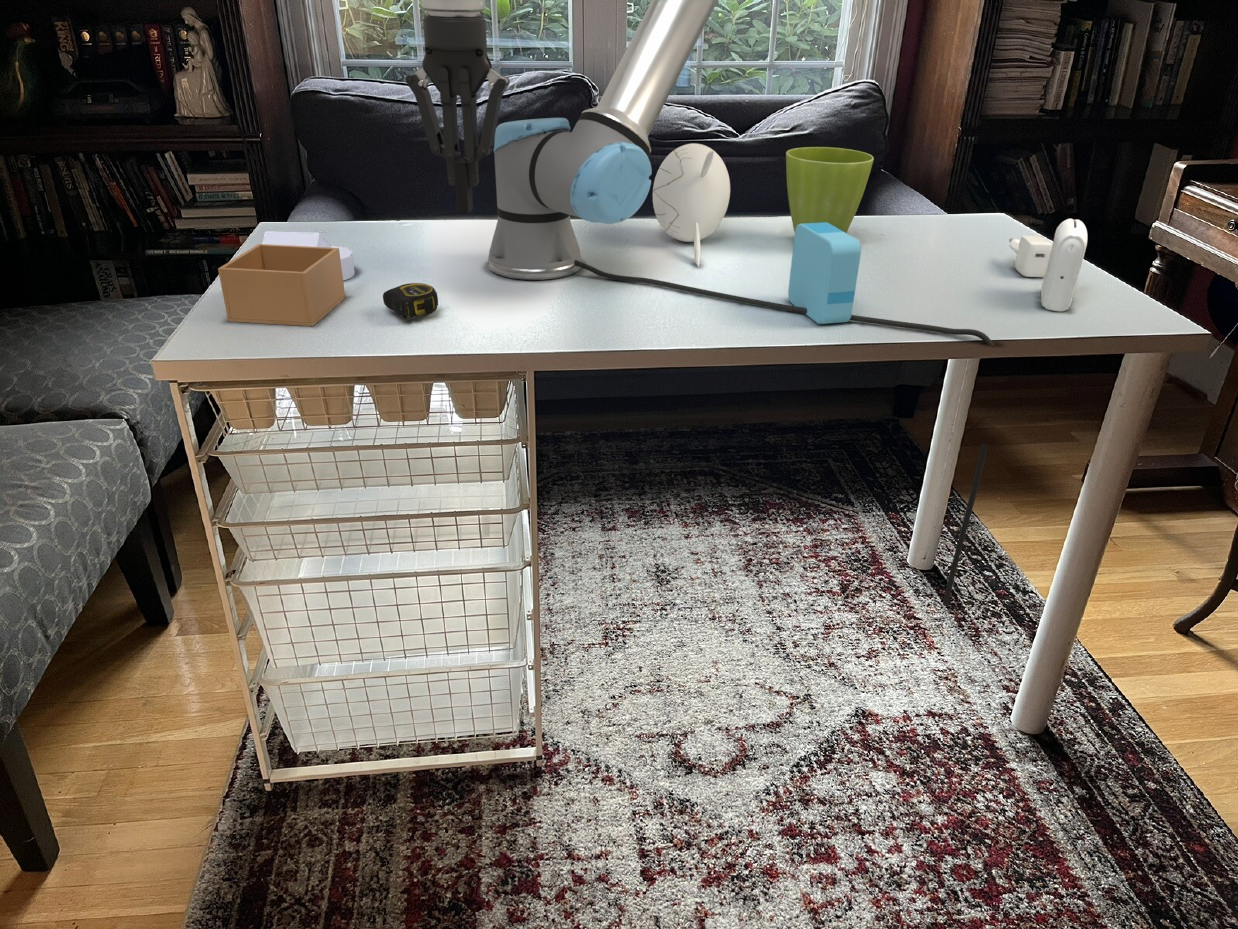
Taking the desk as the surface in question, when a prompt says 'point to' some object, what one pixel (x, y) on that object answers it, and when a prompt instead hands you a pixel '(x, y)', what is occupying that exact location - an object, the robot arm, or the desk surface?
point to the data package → (824, 272)
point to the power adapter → (1031, 255)
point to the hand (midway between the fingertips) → (465, 210)
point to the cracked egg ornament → (691, 194)
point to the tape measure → (411, 300)
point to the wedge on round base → (311, 241)
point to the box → (282, 284)
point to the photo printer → (1064, 265)
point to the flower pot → (826, 184)
